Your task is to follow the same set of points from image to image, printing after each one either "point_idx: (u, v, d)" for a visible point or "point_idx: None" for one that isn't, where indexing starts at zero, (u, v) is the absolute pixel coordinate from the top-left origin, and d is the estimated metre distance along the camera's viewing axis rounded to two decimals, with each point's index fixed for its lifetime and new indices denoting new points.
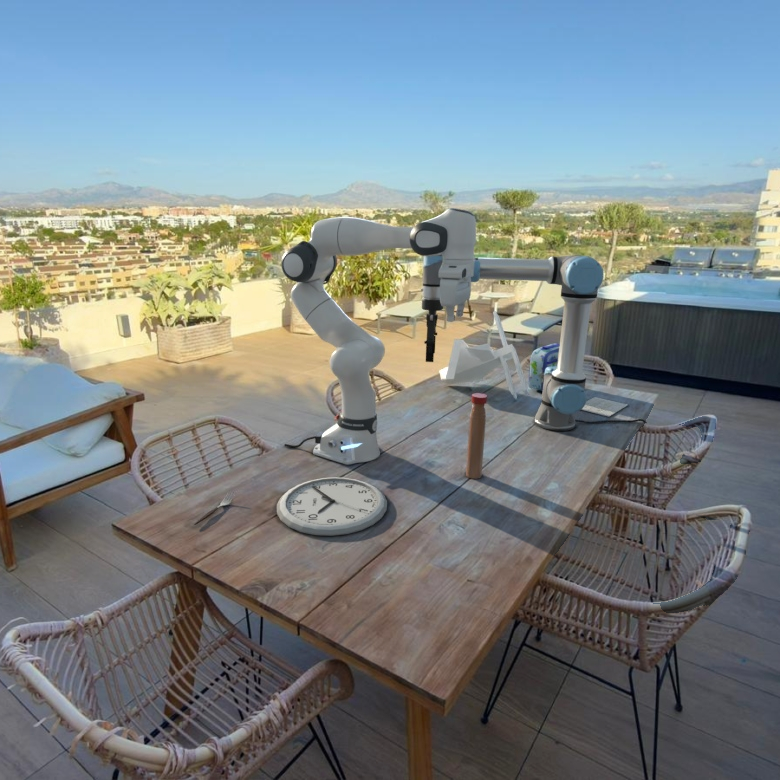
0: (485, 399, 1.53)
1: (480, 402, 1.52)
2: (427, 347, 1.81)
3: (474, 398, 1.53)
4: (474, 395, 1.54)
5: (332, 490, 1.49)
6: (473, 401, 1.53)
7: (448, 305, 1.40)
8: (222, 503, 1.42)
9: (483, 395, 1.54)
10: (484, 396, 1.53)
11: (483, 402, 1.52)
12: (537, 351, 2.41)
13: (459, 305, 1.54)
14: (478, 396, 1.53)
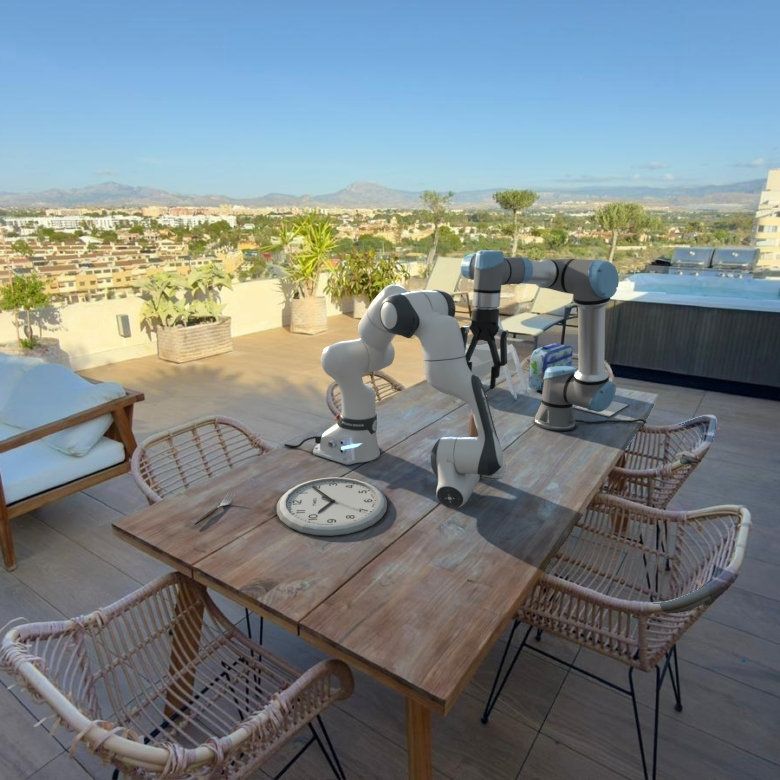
0: None
1: None
2: (469, 366, 1.54)
3: None
4: None
5: (332, 490, 1.49)
6: None
7: None
8: (222, 503, 1.42)
9: None
10: None
11: None
12: (537, 351, 2.41)
13: None
14: None
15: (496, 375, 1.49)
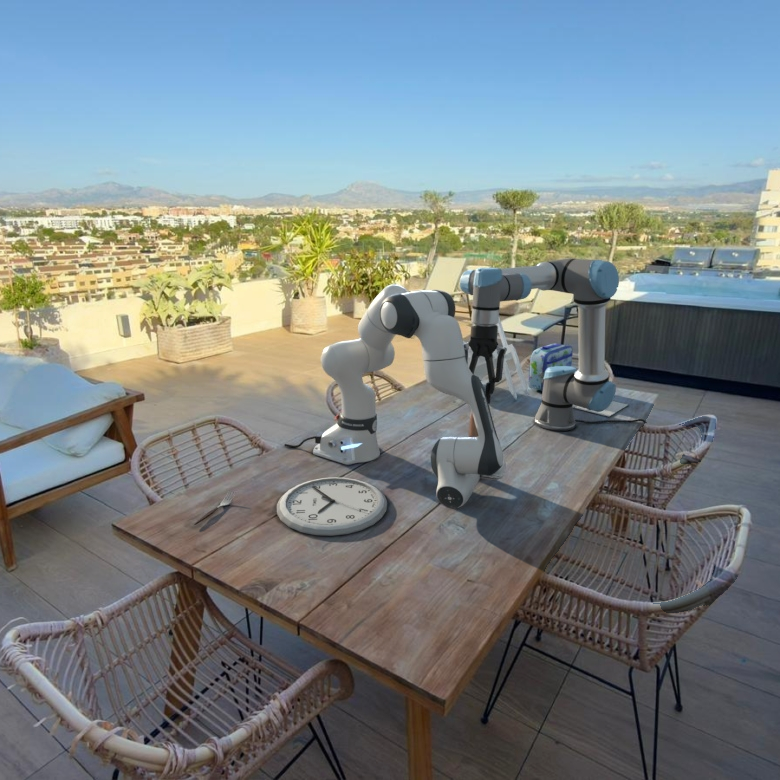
0: None
1: None
2: None
3: None
4: None
5: (332, 490, 1.49)
6: None
7: None
8: (222, 503, 1.42)
9: None
10: None
11: None
12: (537, 351, 2.41)
13: None
14: None
15: (491, 391, 1.51)
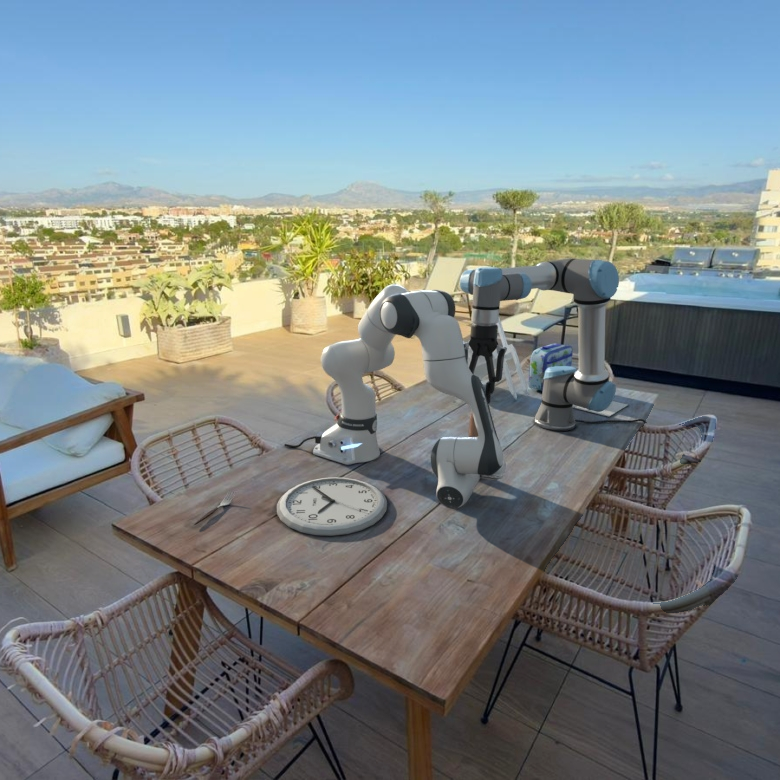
0: None
1: None
2: None
3: None
4: None
5: (332, 490, 1.49)
6: None
7: None
8: (222, 503, 1.42)
9: None
10: None
11: None
12: (537, 351, 2.41)
13: None
14: None
15: (491, 391, 1.51)
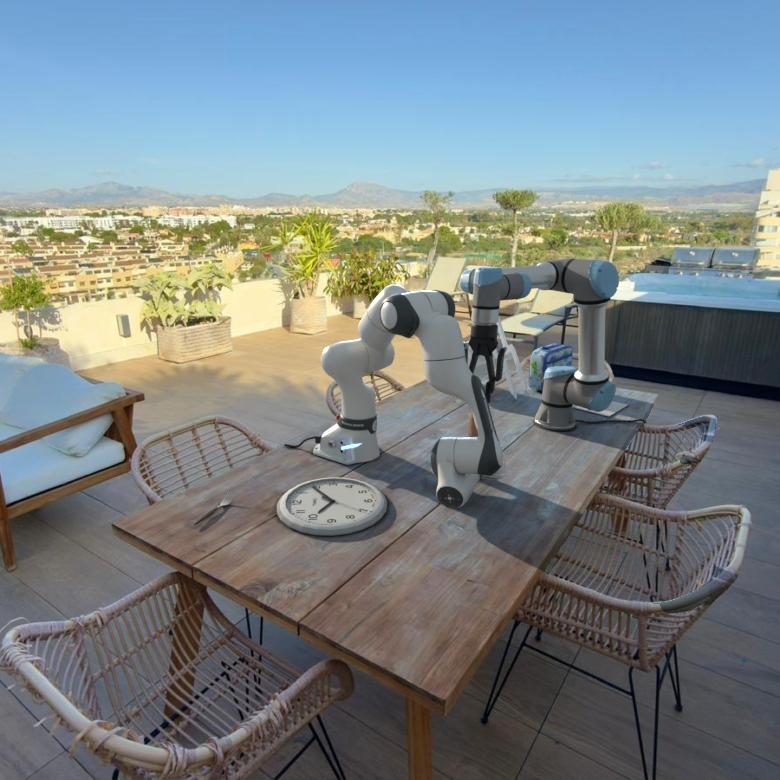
0: None
1: None
2: None
3: None
4: None
5: (332, 490, 1.49)
6: None
7: None
8: (222, 503, 1.42)
9: None
10: None
11: None
12: (537, 351, 2.41)
13: None
14: None
15: (491, 390, 1.51)
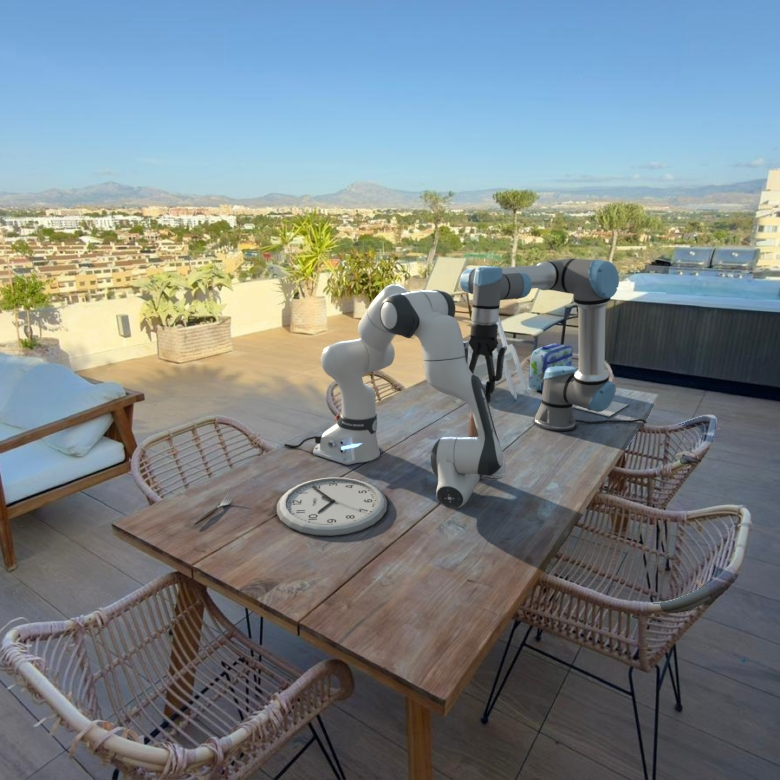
0: None
1: None
2: None
3: None
4: None
5: (332, 490, 1.49)
6: None
7: None
8: (222, 503, 1.42)
9: None
10: None
11: None
12: (537, 351, 2.41)
13: None
14: None
15: (491, 390, 1.51)
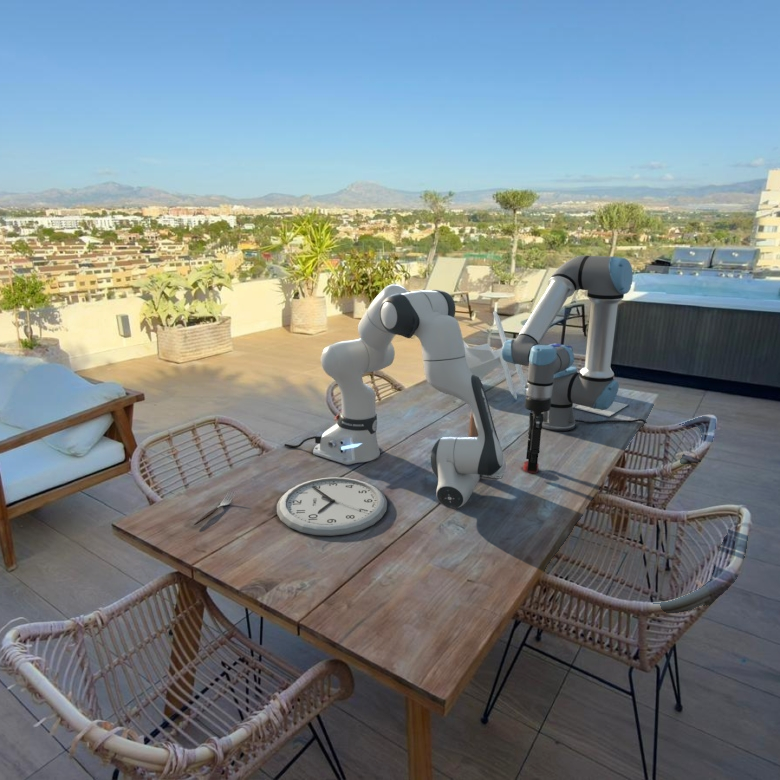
0: None
1: (537, 469, 1.65)
2: (530, 455, 1.60)
3: None
4: None
5: (332, 490, 1.49)
6: (533, 471, 1.64)
7: None
8: (222, 503, 1.42)
9: None
10: None
11: None
12: None
13: None
14: None
15: None
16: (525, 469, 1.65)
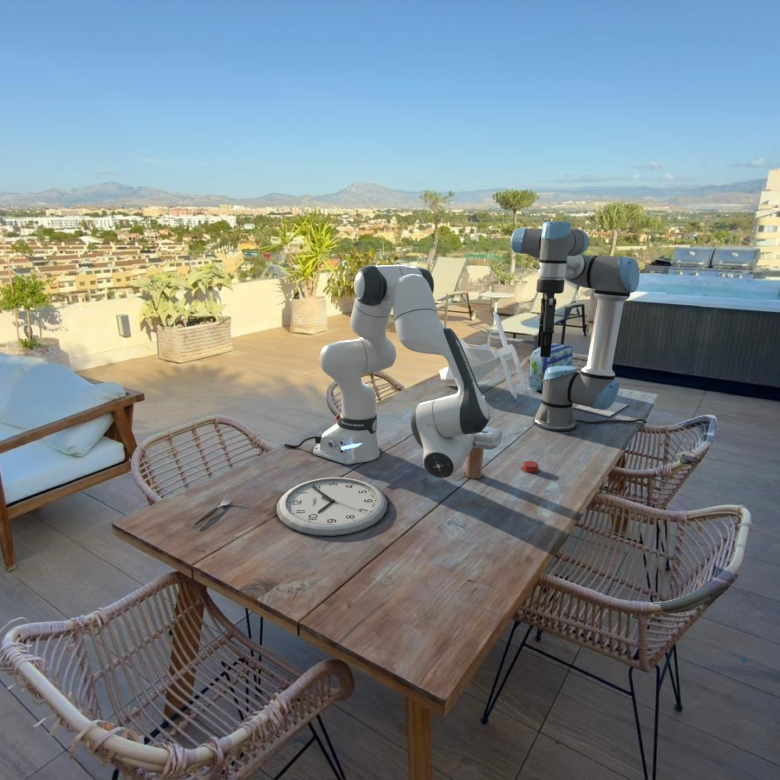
0: None
1: (537, 469, 1.65)
2: (543, 339, 1.46)
3: (534, 468, 1.63)
4: (530, 465, 1.64)
5: (332, 490, 1.49)
6: (533, 471, 1.64)
7: None
8: (222, 503, 1.42)
9: (531, 462, 1.66)
10: (534, 462, 1.66)
11: None
12: (537, 351, 2.41)
13: None
14: (534, 465, 1.65)
15: None
16: (525, 469, 1.65)
